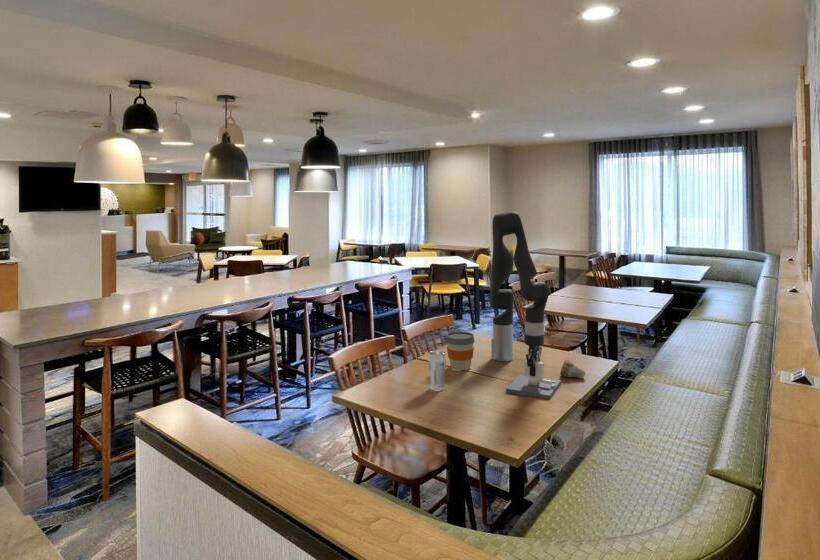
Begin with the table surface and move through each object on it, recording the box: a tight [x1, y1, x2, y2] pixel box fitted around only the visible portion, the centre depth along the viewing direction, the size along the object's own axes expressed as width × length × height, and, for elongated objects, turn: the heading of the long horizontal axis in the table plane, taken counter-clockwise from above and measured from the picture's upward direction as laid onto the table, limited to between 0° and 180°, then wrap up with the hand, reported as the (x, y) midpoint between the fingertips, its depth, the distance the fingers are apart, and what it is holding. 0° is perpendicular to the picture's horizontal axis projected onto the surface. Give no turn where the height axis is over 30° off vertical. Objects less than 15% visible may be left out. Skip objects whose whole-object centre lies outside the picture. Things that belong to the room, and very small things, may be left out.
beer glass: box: [427, 350, 447, 391], centre depth 207 cm, size 7×7×15 cm
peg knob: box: [524, 359, 551, 386], centre depth 205 cm, size 10×4×9 cm, turn 56°
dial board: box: [505, 374, 562, 400], centre depth 206 cm, size 17×18×2 cm
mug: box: [559, 359, 586, 380], centre depth 218 cm, size 8×10×10 cm
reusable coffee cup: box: [445, 331, 475, 371], centre depth 232 cm, size 13×13×15 cm
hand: (533, 374), depth 206 cm, fingers closed on peg knob, 2 cm apart
